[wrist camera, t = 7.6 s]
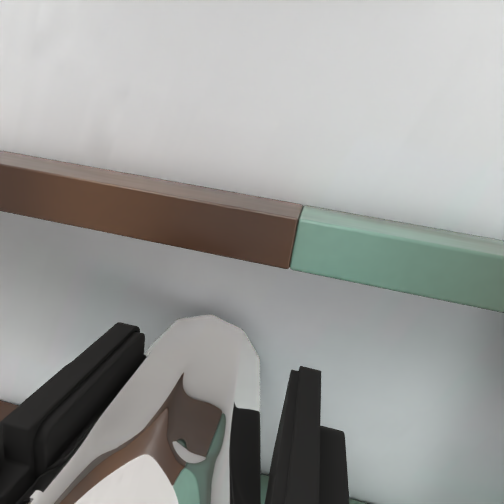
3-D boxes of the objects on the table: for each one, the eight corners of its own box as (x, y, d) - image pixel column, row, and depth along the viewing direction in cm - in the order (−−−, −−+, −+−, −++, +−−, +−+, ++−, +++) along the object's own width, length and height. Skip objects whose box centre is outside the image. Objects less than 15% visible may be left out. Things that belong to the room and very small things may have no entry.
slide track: (-125, 388, 15) (-189, 423, 13) (-175, 118, 12) (-269, 114, 10) (522, 576, 12) (560, 658, 10) (684, 272, 9) (784, 308, 7)
